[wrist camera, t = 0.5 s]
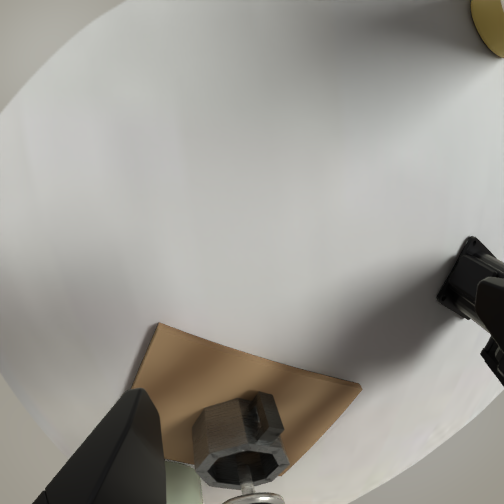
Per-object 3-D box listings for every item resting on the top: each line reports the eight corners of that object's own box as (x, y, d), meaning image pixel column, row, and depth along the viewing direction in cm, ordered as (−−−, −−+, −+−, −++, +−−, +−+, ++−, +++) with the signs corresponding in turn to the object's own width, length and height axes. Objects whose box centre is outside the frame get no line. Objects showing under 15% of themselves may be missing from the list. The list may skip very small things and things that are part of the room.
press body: (299, 395, 24) (317, 436, 20) (251, 452, 26) (260, 491, 22) (224, 376, 22) (232, 423, 18) (183, 439, 24) (186, 482, 20)
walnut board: (358, 383, 26) (362, 389, 25) (279, 470, 29) (281, 476, 28) (159, 322, 21) (158, 328, 20) (112, 436, 24) (110, 443, 23)
